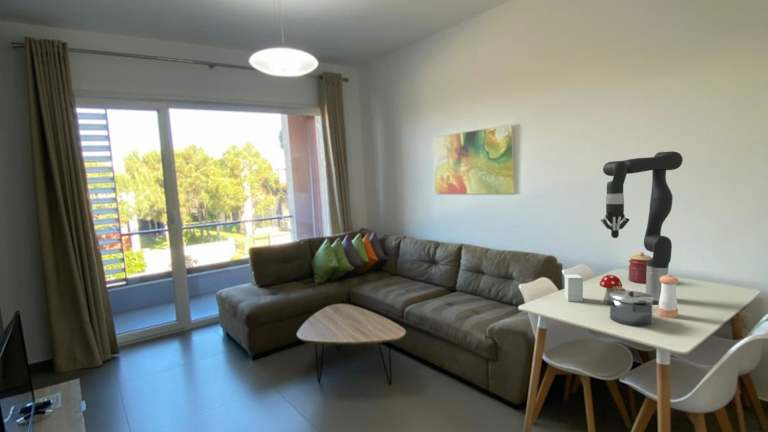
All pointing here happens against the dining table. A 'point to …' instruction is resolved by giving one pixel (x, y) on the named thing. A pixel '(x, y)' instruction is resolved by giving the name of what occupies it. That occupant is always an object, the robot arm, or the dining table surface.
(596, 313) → the dining table surface
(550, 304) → the dining table surface
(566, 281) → the supplement box
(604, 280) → the decorative mushroom
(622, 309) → the cooker pot
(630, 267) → the canister
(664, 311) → the pepper shaker
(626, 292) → the cooker lid
